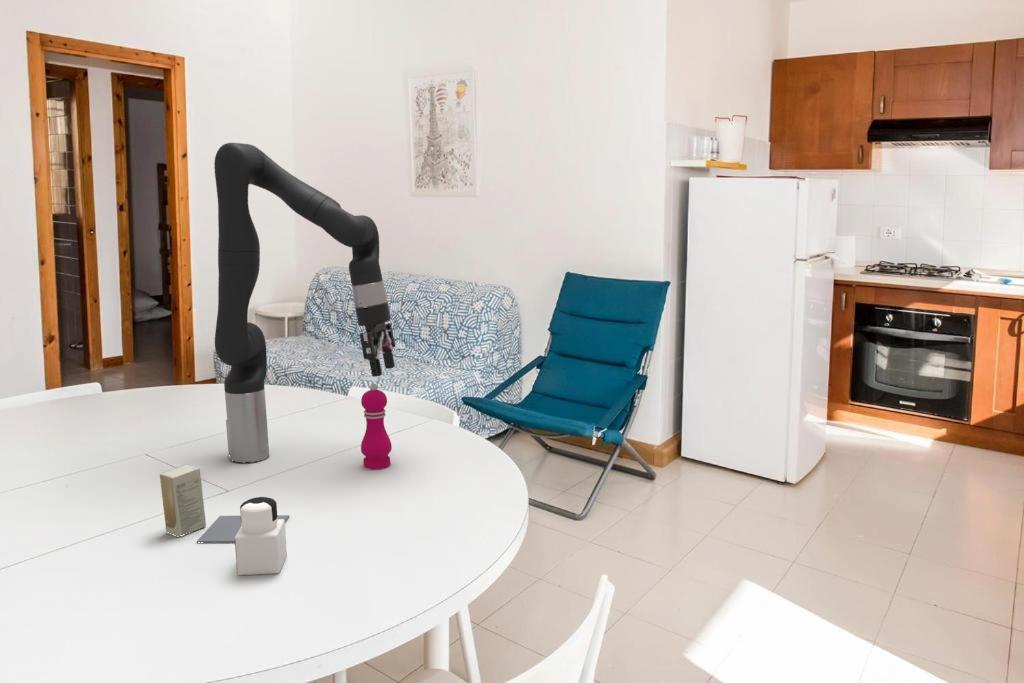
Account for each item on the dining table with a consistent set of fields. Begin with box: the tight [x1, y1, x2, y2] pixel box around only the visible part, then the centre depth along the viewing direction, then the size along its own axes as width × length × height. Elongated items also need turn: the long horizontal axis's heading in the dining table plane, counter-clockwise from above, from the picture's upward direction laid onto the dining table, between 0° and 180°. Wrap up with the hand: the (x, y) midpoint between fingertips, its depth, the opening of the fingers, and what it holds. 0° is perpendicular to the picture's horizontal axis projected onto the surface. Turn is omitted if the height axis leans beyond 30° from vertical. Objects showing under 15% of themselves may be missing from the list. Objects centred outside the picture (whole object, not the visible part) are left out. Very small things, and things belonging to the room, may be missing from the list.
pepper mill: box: [360, 383, 393, 470], centre depth 192 cm, size 7×7×20 cm
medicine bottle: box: [234, 496, 288, 576], centre depth 141 cm, size 7×7×12 cm
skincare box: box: [159, 464, 207, 537], centre depth 157 cm, size 6×4×12 cm
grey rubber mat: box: [196, 514, 290, 544], centre depth 158 cm, size 14×12×1 cm
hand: (383, 371), depth 188 cm, fingers open, 8 cm apart
